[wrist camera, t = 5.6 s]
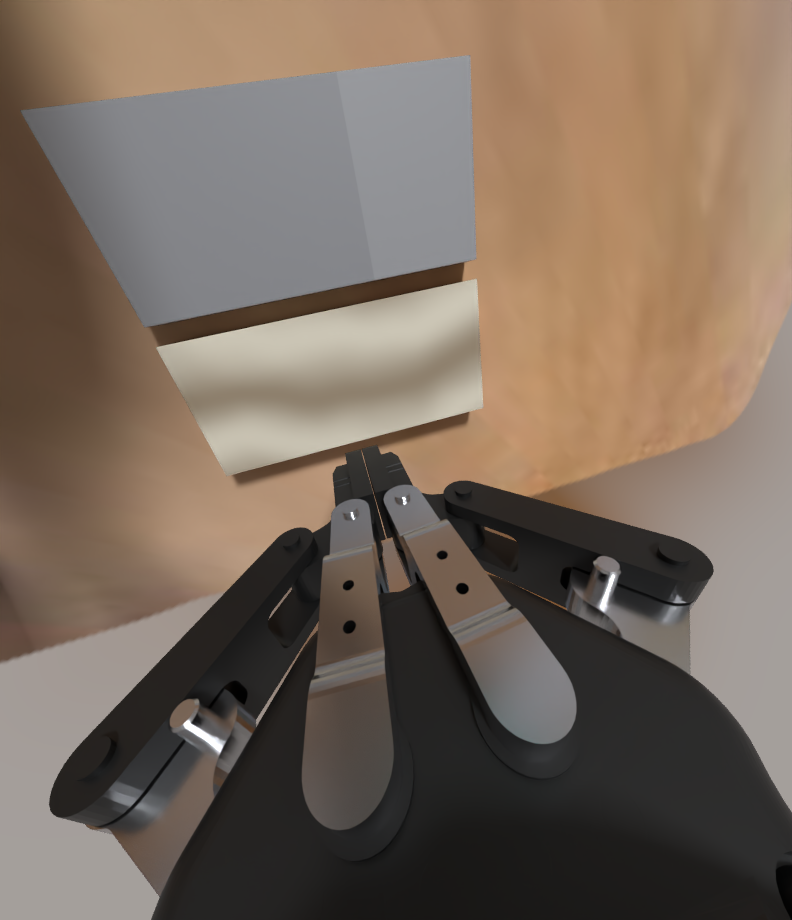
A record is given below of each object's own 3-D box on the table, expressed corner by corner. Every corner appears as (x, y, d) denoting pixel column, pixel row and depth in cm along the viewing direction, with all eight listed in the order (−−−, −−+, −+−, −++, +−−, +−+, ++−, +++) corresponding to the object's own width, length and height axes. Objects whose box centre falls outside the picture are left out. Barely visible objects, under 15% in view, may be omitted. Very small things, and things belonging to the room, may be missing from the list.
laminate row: (51, 130, 12) (20, 110, 11) (456, 77, 14) (470, 55, 13) (158, 325, 16) (144, 327, 15) (464, 262, 18) (476, 259, 17)
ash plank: (169, 345, 16) (155, 347, 15) (465, 281, 18) (476, 278, 17) (232, 465, 20) (226, 476, 19) (473, 402, 22) (483, 407, 21)
